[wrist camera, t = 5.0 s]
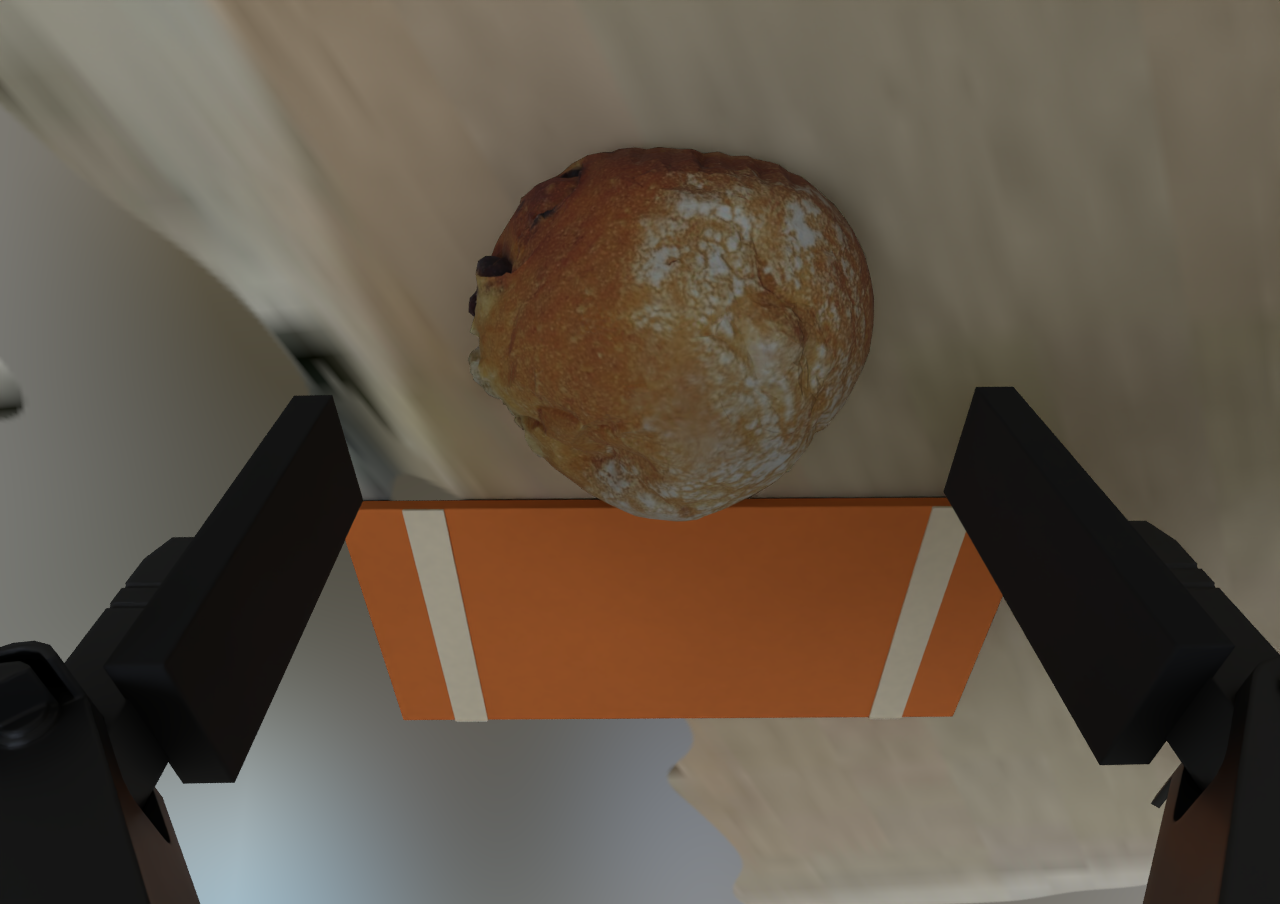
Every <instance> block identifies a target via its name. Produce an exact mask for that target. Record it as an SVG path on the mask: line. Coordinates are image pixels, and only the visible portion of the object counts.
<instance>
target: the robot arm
mask: <svg viewBox="0 0 1280 904" xmlns="http://www.w3.org/2000/svg"><path fill="white" fill-rule="evenodd" d="M944 494H945V495H946V497H947V499H948V501H949V502H950V504H951V506H952V508H953V509H954V511H955V513H956V515H957V516H958V518H959V520H960V522H961V523H962V525H963V527H964V529H965V530H966V532H967V534H968V536H969V537H970V539H971V541H972V543H973V544H974V546H975V548H976V550H977V551H978V553H979V555H980V557H981V558H982V560H983V562H984V564H985V565H986V567H987V569H988V571H989V572H990V574H991V576H992V578H993V579H994V581H995V583H996V585H997V586H998V588H999V590H1000V592H1001V593H1002V595H1003V597H1004V599H1005V600H1006V602H1007V604H1008V606H1009V607H1010V609H1011V611H1012V613H1013V614H1014V616H1015V618H1016V620H1017V621H1018V623H1019V625H1020V627H1021V628H1022V630H1023V632H1024V634H1025V635H1026V637H1027V639H1028V641H1029V642H1030V644H1031V646H1032V648H1033V649H1034V651H1035V653H1036V655H1037V656H1038V658H1039V660H1040V662H1041V663H1042V665H1043V667H1044V669H1045V670H1046V672H1047V674H1048V676H1049V677H1050V679H1051V681H1052V683H1053V684H1054V686H1055V688H1056V690H1057V691H1058V693H1059V695H1060V697H1061V698H1062V700H1063V702H1064V704H1065V705H1066V707H1067V709H1068V711H1069V712H1070V714H1071V716H1072V718H1073V719H1074V721H1075V723H1076V725H1077V726H1078V728H1079V730H1080V731H1081V733H1082V735H1083V737H1084V738H1085V740H1086V742H1087V744H1088V745H1089V747H1090V749H1091V751H1092V752H1093V754H1094V756H1095V758H1096V759H1097V761H1098V763H1099V765H1130V764H1150V762H1151V761H1152V760H1153V758H1154V757H1155V756H1156V754H1157V753H1158V752H1159V750H1160V749H1161V747H1162V746H1163V745H1164V743H1165V742H1166V741H1168V743H1169V744H1170V746H1171V747H1172V749H1173V750H1174V752H1175V753H1176V755H1177V756H1178V758H1179V759H1180V761H1181V762H1182V763H1181V764H1180V765H1179V767H1178V768H1177V769H1176V770H1175V772H1174V773H1173V774H1172V776H1171V777H1170V778H1169V779H1168V781H1167V782H1166V783H1165V785H1164V786H1163V787H1162V788H1161V790H1160V791H1159V792H1158V794H1157V795H1156V796H1155V798H1154V800H1153V801H1152V803H1151V804H1153V805H1154V806H1156V807H1158V808H1160V806H1161V805H1162V804H1163V803H1164V801H1165V800H1166V799H1167V801H1166V805H1165V809H1164V814H1163V818H1162V823H1161V827H1160V831H1159V836H1158V840H1157V844H1156V849H1155V853H1154V857H1153V862H1152V866H1151V870H1150V875H1149V879H1148V884H1147V888H1146V892H1145V897H1144V901H1143V904H1280V654H1279V653H1278V652H1277V651H1276V650H1275V649H1274V648H1273V647H1272V646H1271V645H1270V643H1269V642H1268V641H1267V640H1266V639H1265V638H1264V637H1263V636H1262V635H1261V634H1260V632H1259V631H1258V630H1257V629H1256V628H1255V627H1254V626H1253V625H1252V624H1251V623H1250V621H1249V620H1248V619H1247V618H1246V617H1245V616H1244V615H1243V614H1242V613H1241V611H1240V610H1239V609H1238V608H1237V607H1236V606H1235V605H1234V604H1233V603H1232V602H1231V600H1230V599H1229V598H1228V597H1227V596H1226V595H1225V594H1224V593H1223V592H1222V591H1221V589H1220V588H1215V586H1214V584H1215V583H1214V582H1213V581H1212V580H1211V578H1210V577H1209V576H1208V575H1207V574H1206V573H1205V572H1204V571H1203V570H1202V569H1198V568H1197V563H1196V562H1195V561H1194V560H1193V559H1192V558H1191V556H1190V555H1189V554H1188V553H1187V552H1186V551H1185V550H1184V549H1183V548H1182V547H1181V545H1180V544H1179V543H1178V542H1177V541H1176V540H1174V539H1173V538H1171V537H1170V536H1168V535H1167V534H1165V533H1164V532H1162V531H1161V530H1159V529H1158V528H1156V527H1155V526H1153V525H1152V524H1150V523H1149V522H1147V521H1128V520H1127V519H1126V518H1125V517H1124V515H1123V514H1122V513H1121V512H1120V511H1119V510H1118V508H1117V507H1116V506H1115V505H1114V504H1113V503H1112V501H1111V500H1110V499H1109V498H1108V497H1107V496H1106V494H1105V493H1104V492H1103V491H1102V490H1101V489H1100V487H1099V486H1098V485H1097V484H1096V483H1095V482H1094V480H1093V479H1092V478H1091V477H1090V476H1089V475H1088V473H1087V472H1086V471H1085V470H1084V469H1083V468H1082V466H1081V465H1080V464H1079V463H1078V462H1077V461H1076V459H1075V458H1074V457H1073V456H1072V455H1071V454H1070V452H1069V451H1068V450H1067V449H1066V448H1065V447H1064V445H1063V444H1062V443H1061V442H1060V441H1059V440H1058V438H1057V437H1056V436H1055V435H1054V434H1053V433H1052V431H1051V430H1050V429H1049V428H1048V427H1047V426H1046V424H1045V423H1044V422H1043V421H1042V420H1041V419H1040V417H1039V416H1038V415H1037V414H1036V413H1035V412H1034V410H1033V409H1032V408H1031V407H1030V406H1029V405H1028V403H1027V402H1026V401H1025V400H1024V399H1023V398H1022V396H1021V395H1020V394H1019V393H1018V392H1017V391H1016V389H1015V388H1014V387H976V389H975V392H974V395H973V398H972V402H971V405H970V408H969V411H968V414H967V418H966V421H965V424H964V427H963V430H962V434H961V437H960V440H959V443H958V447H957V450H956V453H955V456H954V459H953V463H952V466H951V469H950V472H949V475H948V479H947V482H946V485H945V488H944ZM362 502H363V498H362V495H361V491H360V488H359V484H358V481H357V478H356V474H355V471H354V468H353V464H352V461H351V457H350V454H349V451H348V447H347V444H346V440H345V437H344V434H343V430H342V427H341V423H340V420H339V417H338V413H337V410H336V406H335V403H334V400H333V396H332V395H315V396H294V397H293V398H292V400H291V401H290V402H289V404H288V405H287V407H286V408H285V410H284V411H283V412H282V414H281V415H280V417H279V418H278V420H277V421H276V422H275V424H274V425H273V427H272V428H271V429H270V431H269V432H268V433H267V435H266V436H265V438H264V439H263V441H262V442H261V443H260V445H259V446H258V448H257V449H256V451H255V452H254V453H253V455H252V456H251V458H250V459H249V460H248V462H247V463H246V465H245V466H244V468H243V469H242V470H241V472H240V473H239V475H238V476H237V477H236V479H235V480H234V482H233V483H232V484H231V486H230V487H229V489H228V490H227V492H226V493H225V494H224V496H223V497H222V499H221V500H220V501H219V503H218V504H217V506H216V507H215V508H214V510H213V512H212V513H211V514H210V516H209V517H208V518H207V520H206V521H205V523H204V524H203V526H202V527H201V528H200V530H199V531H198V533H197V534H196V535H195V537H176V538H175V537H173V538H171V539H170V540H168V541H167V542H166V543H164V544H163V545H162V546H161V547H159V548H158V549H156V550H155V551H154V552H152V553H151V554H150V555H148V556H147V557H146V558H145V559H144V560H143V561H142V562H141V563H140V565H139V566H138V567H137V569H136V570H135V571H134V573H133V574H132V575H131V577H130V578H129V579H128V580H127V582H126V587H125V588H122V589H121V590H120V591H119V592H118V594H117V595H116V596H115V598H114V599H113V600H112V602H111V603H110V604H111V605H110V608H107V609H105V611H104V612H103V613H102V615H101V616H100V617H99V619H98V620H97V621H96V622H95V624H94V625H93V626H92V628H91V629H90V631H89V632H88V633H87V634H86V636H85V637H84V638H83V639H82V641H81V642H80V644H79V645H78V646H77V647H76V649H75V650H74V652H73V653H72V654H71V655H70V657H69V658H68V659H67V661H66V662H65V663H64V662H63V661H62V660H61V659H60V657H59V656H58V654H57V653H56V652H55V651H54V649H53V648H52V647H51V646H50V645H48V644H45V643H41V642H36V641H28V642H18V643H11V644H8V645H5V646H2V647H0V904H200V902H199V899H198V896H197V894H196V891H195V888H194V885H193V882H192V879H191V876H190V874H189V871H188V868H187V865H186V862H185V860H184V857H183V854H182V851H181V848H180V846H179V843H178V840H177V837H176V834H175V831H174V828H173V826H172V823H171V820H170V817H169V814H168V812H167V809H166V806H165V803H164V800H163V797H162V796H161V795H160V793H159V792H158V791H157V789H156V788H155V785H156V784H157V782H158V780H159V778H160V776H161V774H162V772H163V771H164V769H165V767H166V765H167V763H168V762H169V764H170V765H171V766H172V768H173V769H174V771H175V772H176V774H177V775H178V777H179V778H180V780H181V781H182V782H183V784H185V783H234V782H235V780H236V778H237V776H238V774H239V772H240V770H241V767H242V765H243V763H244V761H245V758H246V756H247V754H248V752H249V750H250V747H251V745H252V743H253V741H254V739H255V736H256V734H257V732H258V730H259V728H260V726H261V723H262V721H263V719H264V717H265V715H266V712H267V710H268V708H269V706H270V703H271V702H272V699H273V697H274V695H275V693H276V691H277V688H278V686H279V684H280V682H281V680H282V677H283V675H284V673H285V671H286V669H287V666H288V664H289V662H290V660H291V658H292V655H293V653H294V651H295V649H296V646H297V644H298V642H299V640H300V638H301V636H302V633H303V631H304V629H305V627H306V625H307V622H308V620H309V618H310V616H311V614H312V612H313V609H314V607H315V605H316V603H317V601H318V598H319V596H320V594H321V592H322V590H323V587H324V585H325V583H326V581H327V579H328V576H329V574H330V572H331V570H332V568H333V565H334V563H335V561H336V559H337V557H338V554H339V552H340V550H341V548H342V545H343V544H344V541H345V539H346V537H347V535H348V533H349V530H350V528H351V526H352V524H353V522H354V519H355V517H356V515H357V513H358V511H359V508H360V506H361V504H362Z"/></svg>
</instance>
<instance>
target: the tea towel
mask: <svg viewBox="0 0 1280 904" xmlns="http://www.w3.org/2000/svg"><path fill="white" fill-rule="evenodd" d="M345 540H346V544H347V546H348V550H349V553H350V556H351V559H352V562H353V565H354V568H355V571H356V574H357V577H358V581H359V584H360V587H361V590H362V593H363V596H364V599H365V602H366V605H367V608H368V611H369V614H370V618H371V621H372V623H373V627H374V630H375V633H376V636H377V639H378V642H379V645H380V648H381V651H382V655H383V658H384V660H385V663H386V667H387V670H388V673H389V676H390V679H391V682H392V685H393V688H394V692H395V695H396V697H397V701H398V704H399V707H400V710H401V713H402V716H403V719H404V720H455V721H456V722H487V721H488V719H631V718H632V719H633V718H634V719H636V718H637V719H639V718H792V717H869V719H901V717H945V716H953V714H954V712H955V710H956V707H957V705H958V702H959V700H960V698H961V695H962V693H963V690H964V688H965V686H966V683H967V681H968V678H969V676H970V673H971V671H972V669H973V666H974V664H975V661H976V659H977V657H978V654H979V652H980V649H981V647H982V645H983V642H984V640H985V637H986V635H987V632H988V630H989V628H990V625H991V623H992V620H993V618H994V616H995V613H996V611H997V608H998V606H999V604H1000V601H1001V599H1002V596H1003V595H1002V593H1001V592H1000V590H999V588H998V586H997V585H996V583H995V581H994V579H993V578H992V576H991V574H990V572H989V571H988V569H987V567H986V565H985V564H984V562H983V560H982V558H981V557H980V555H979V553H978V551H977V550H976V548H975V546H974V544H973V543H972V541H971V539H970V537H969V536H968V534H967V532H966V530H965V529H964V527H963V525H962V523H961V522H960V520H959V518H958V516H957V515H956V513H955V511H954V509H953V508H952V506H951V504H950V502H949V501H948V499H947V498H787V499H744V500H742V501H740V502H738V503H736V504H734V505H732V506H730V507H728V508H725V509H723V510H721V511H718V512H715V513H712V514H709V515H706V516H704V517H702V518H700V519H697V520H691V521H667V520H658V519H649V518H643V517H638V516H634V515H632V514H630V513H627V512H625V511H623V510H621V509H618V508H616V507H614V506H612V505H610V504H608V503H606V502H604V501H602V500H447V501H446V500H445V501H444V500H441V501H363V502H362V504H361V506H360V508H359V511H358V513H357V515H356V517H355V519H354V522H353V524H352V526H351V528H350V530H349V533H348V535H347V537H346V539H345Z"/></svg>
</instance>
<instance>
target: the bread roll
mask: <svg viewBox="0 0 1280 904" xmlns="http://www.w3.org/2000/svg"><path fill="white" fill-rule="evenodd" d="M476 280H477V291H476V292H475V293H474V294H473V295H472V296H471V297H470V301H469V313H470V314H472V315H473V316H474V320H473V324H472V327H471V330H470V333H471V334H473V335H476V336H478V337H479V338H480V340H479V347H477V348H476V349H475V350H473V351H472V352H471V354H470V355H469V358H468V361H469V364H470V373H471V374H472V375H473V377H474V378H473V380H474V381H476V382H477V383H478V384H479V385H480V386H482V387H483V389H484V390H485V391H486V392H487V394H488V395H490V396H492V397H495V398H498V399H501V400H502V402H503V404H504V405H506V406H507V408H508V410H509V411H510V412H511V414H512V415H513V416H514V417H515V423H516V424H517V425H518V426H519V427H521V428H522V429H523V430H524V431H525V439H526V441H527V443H528V446H529V447H530V448H531V450H532V451H533V452H534V453H535V454H537V455H538V456H539V457H544V458H545V459H546V460H547V461H548V462H549V463H550V464H551V465H552V466H553V467H554V468H555V469H556V470H558V471H559V472H560V473H562V474H563V475H565V476H566V477H567V478H569V479H570V480H572V481H573V482H574V483H576V484H577V485H578V486H579V487H581V488H582V489H583V490H585V491H586V492H587V493H589V494H591V495H593V496H594V497H596V498H598V499H600V500H602V501H604V502H606V503H608V504H610V505H612V506H614V507H616V508H618V509H621V510H623V511H625V512H627V513H630V514H632V515H634V516H638V517H643V518H649V519H658V520H667V521H691V520H697V519H700V518H702V517H704V516H706V515H709V514H712V513H715V512H718V511H721V510H723V509H725V508H728V507H730V506H732V505H734V504H736V503H738V502H740V501H742V500H744V499H746V498H748V497H750V496H752V495H754V494H755V493H757V492H759V491H761V490H763V489H764V488H766V487H768V486H769V485H771V484H773V483H774V482H775V481H776V480H777V479H778V478H779V477H780V476H781V475H782V474H783V473H785V472H789V471H790V469H791V468H792V466H793V465H794V463H795V462H796V461H797V460H798V459H799V458H800V457H801V455H802V454H803V453H804V452H805V451H806V449H807V447H808V446H809V444H810V443H811V441H812V439H813V436H814V434H815V433H816V432H818V431H821V430H823V429H824V428H825V427H826V426H828V424H829V422H830V421H831V420H832V419H833V418H834V416H835V415H836V414H837V413H838V411H839V410H840V409H841V408H842V406H843V405H844V404H845V402H846V400H847V398H848V397H849V395H850V393H851V391H852V389H853V387H854V385H855V383H856V381H857V379H858V377H859V375H860V373H861V371H862V369H863V366H864V364H865V361H866V358H867V356H868V354H869V351H870V344H871V337H872V331H873V319H874V296H873V289H872V283H871V278H870V274H869V270H868V266H867V262H866V258H865V255H864V253H863V251H862V248H861V246H860V244H859V242H858V240H857V238H856V236H855V234H854V232H853V230H852V228H851V227H850V225H849V224H848V222H847V221H846V219H845V218H844V217H843V215H842V214H841V213H840V212H839V210H838V209H837V208H836V206H835V205H834V204H833V203H832V202H830V201H829V200H828V199H826V198H825V197H824V196H823V195H822V194H821V193H820V192H819V191H818V190H817V189H816V188H815V187H813V186H812V185H811V184H810V183H809V182H807V181H806V180H805V179H803V178H802V177H800V176H798V175H795V174H792V173H790V172H788V171H787V170H785V169H784V168H782V167H781V166H780V165H777V164H775V163H771V162H767V161H762V160H757V159H753V158H751V157H749V156H729V155H726V154H723V153H720V152H712V153H704V154H703V153H701V152H698V151H696V150H693V149H672V148H662V147H657V148H652V149H640V148H626V149H619V150H616V151H613V152H603V153H597V154H592V155H587V156H585V157H584V158H582V159H580V160H578V161H576V162H574V163H573V164H571V165H570V166H569V167H568V168H567V169H566V170H565V171H564V172H562V173H561V174H560V175H558V176H556V177H554V178H552V179H549V180H547V181H545V182H542V183H540V184H538V185H536V186H535V187H534V188H533V189H532V190H531V191H529V192H528V193H527V194H526V195H525V196H523V197H522V198H521V201H520V205H519V206H518V208H517V210H516V211H515V213H514V215H513V216H512V218H511V219H510V221H509V223H508V224H507V226H506V228H505V229H504V231H503V232H502V234H501V236H500V237H499V239H498V241H497V243H496V246H495V248H494V251H493V253H492V256H485V257H484V258H482V259H481V260H479V261H478V264H477V269H476Z"/></svg>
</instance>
